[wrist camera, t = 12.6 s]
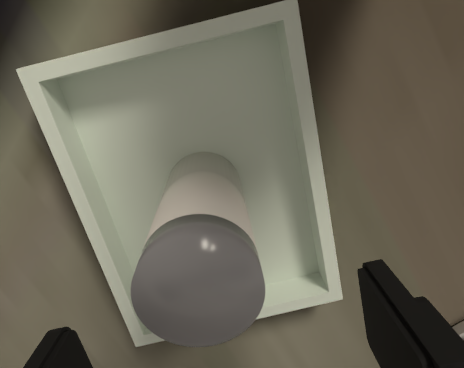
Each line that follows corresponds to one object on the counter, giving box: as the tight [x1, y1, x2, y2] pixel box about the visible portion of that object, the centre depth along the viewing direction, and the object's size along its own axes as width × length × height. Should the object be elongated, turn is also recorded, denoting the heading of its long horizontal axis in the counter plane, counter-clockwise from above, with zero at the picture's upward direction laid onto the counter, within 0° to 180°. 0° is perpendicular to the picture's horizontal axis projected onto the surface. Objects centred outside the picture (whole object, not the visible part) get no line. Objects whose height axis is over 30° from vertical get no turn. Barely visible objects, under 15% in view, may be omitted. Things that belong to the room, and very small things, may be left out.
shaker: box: [131, 152, 265, 347], centre depth 17 cm, size 5×5×11 cm
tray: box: [16, 0, 343, 347], centre depth 21 cm, size 14×18×3 cm
